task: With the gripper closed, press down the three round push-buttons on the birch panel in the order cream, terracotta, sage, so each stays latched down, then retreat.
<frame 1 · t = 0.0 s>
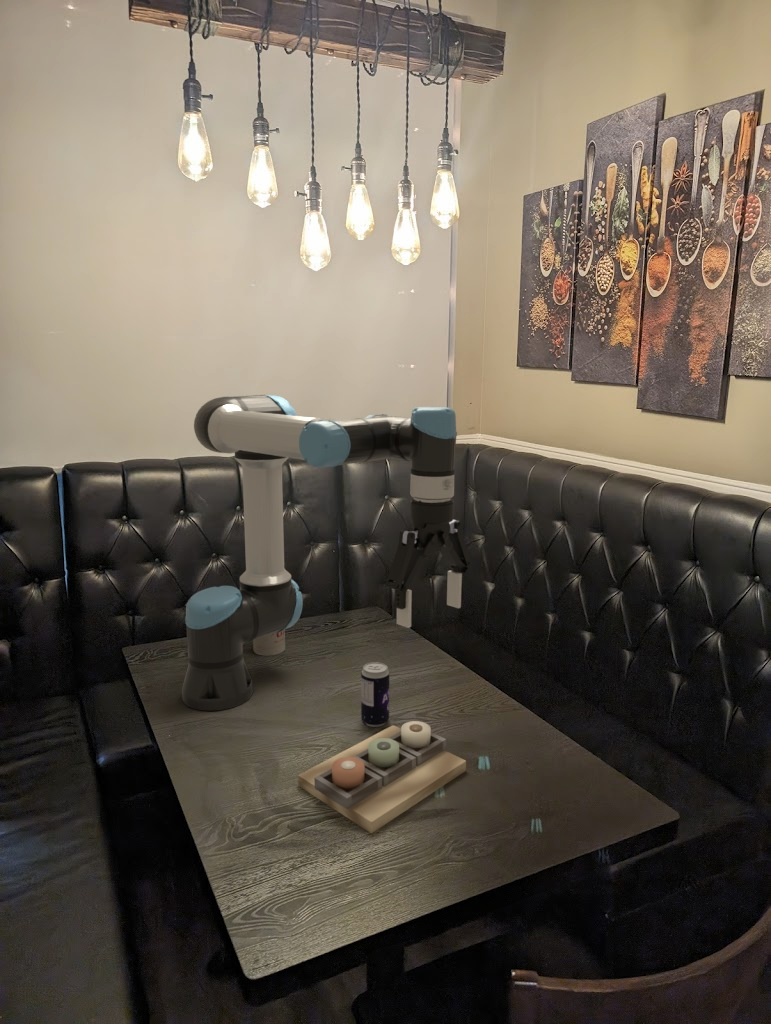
hand: (429, 615, 124), 28 cm above the table, fingers open, 13 cm apart
sage button: (383, 751, 123), point 5 cm above the table, slide at 1.5 cm
panel: (383, 778, 124), on the table
terracotta button: (348, 771, 117), point 5 cm above the table, slide at 1.5 cm
cream button: (415, 733, 129), point 5 cm above the table, slide at 1.5 cm
beverage can: (375, 722, 143), on the table
thermos bottle: (269, 650, 179), on the table
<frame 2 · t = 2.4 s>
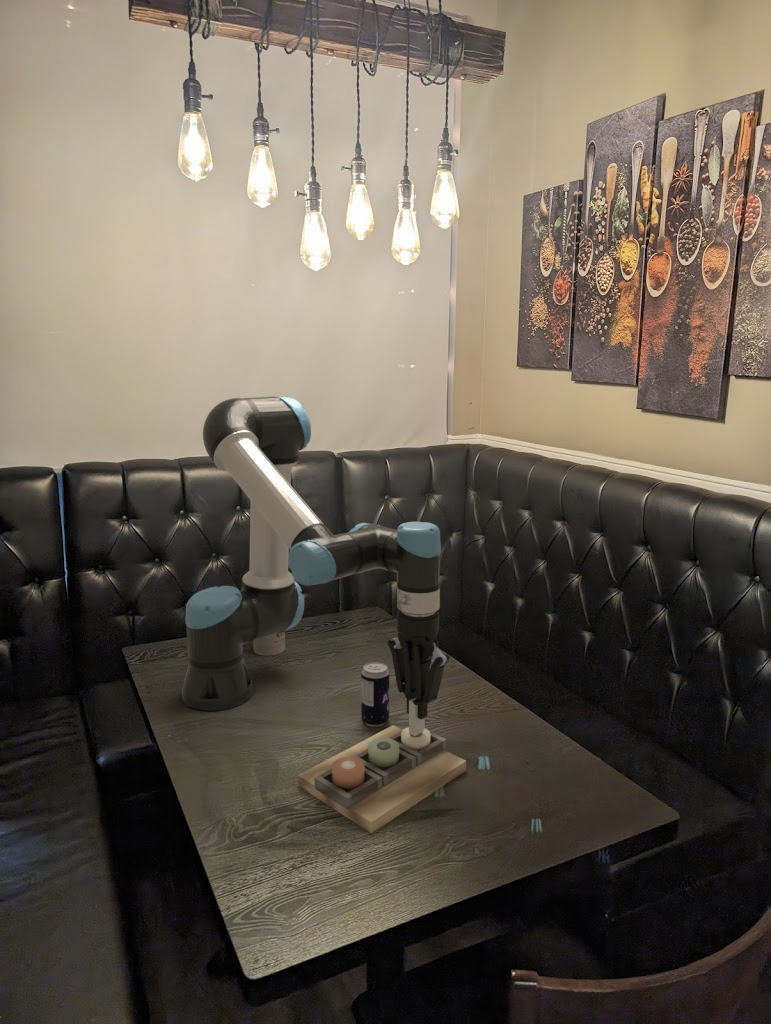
hand: (416, 731, 129), 6 cm above the table, fingers closed
cream button: (415, 739, 129), point 4 cm above the table, slide at 0.4 cm, touching gripper
everything else where it was.
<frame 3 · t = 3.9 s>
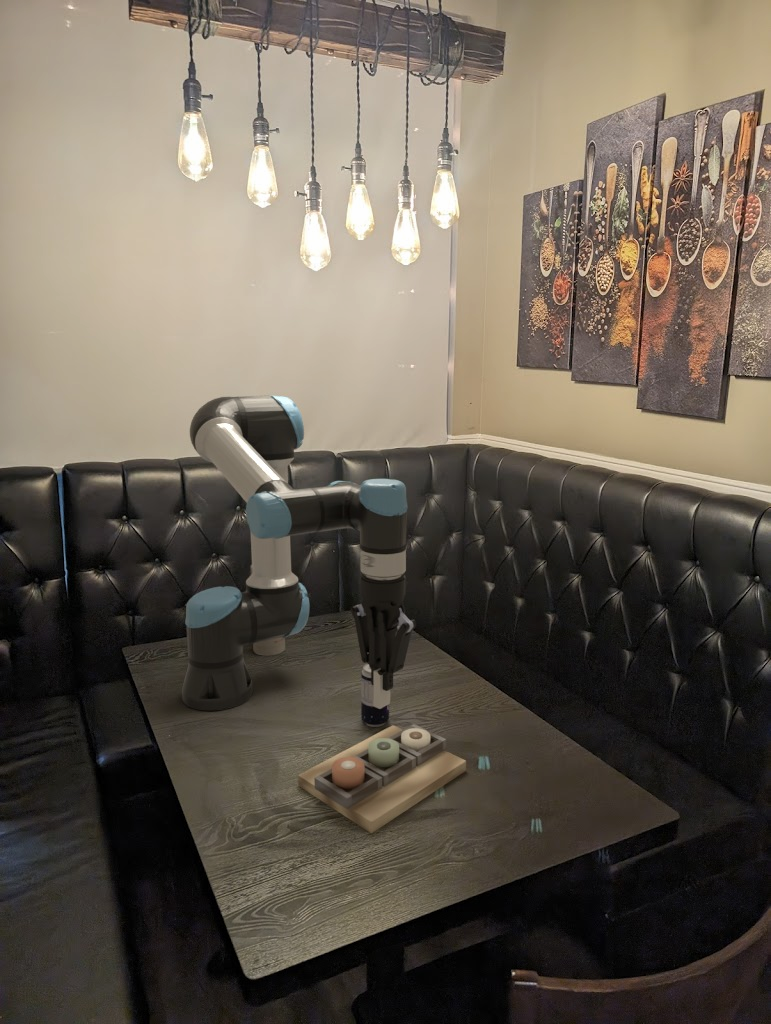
hand: (381, 704, 120), 14 cm above the table, fingers closed
cream button: (415, 741, 129), point 4 cm above the table, slide at 0.0 cm
everything else where it was.
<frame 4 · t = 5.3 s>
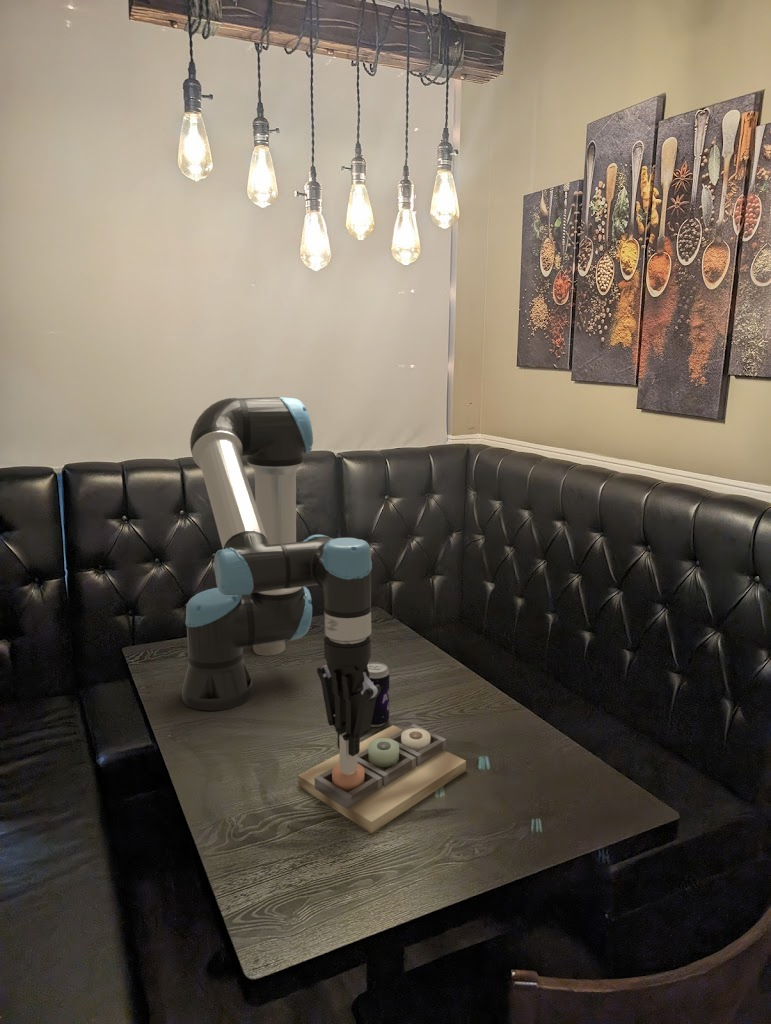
hand: (348, 769, 116), 6 cm above the table, fingers closed
terracotta button: (348, 776, 117), point 4 cm above the table, slide at 0.5 cm, touching gripper
everything else where it was.
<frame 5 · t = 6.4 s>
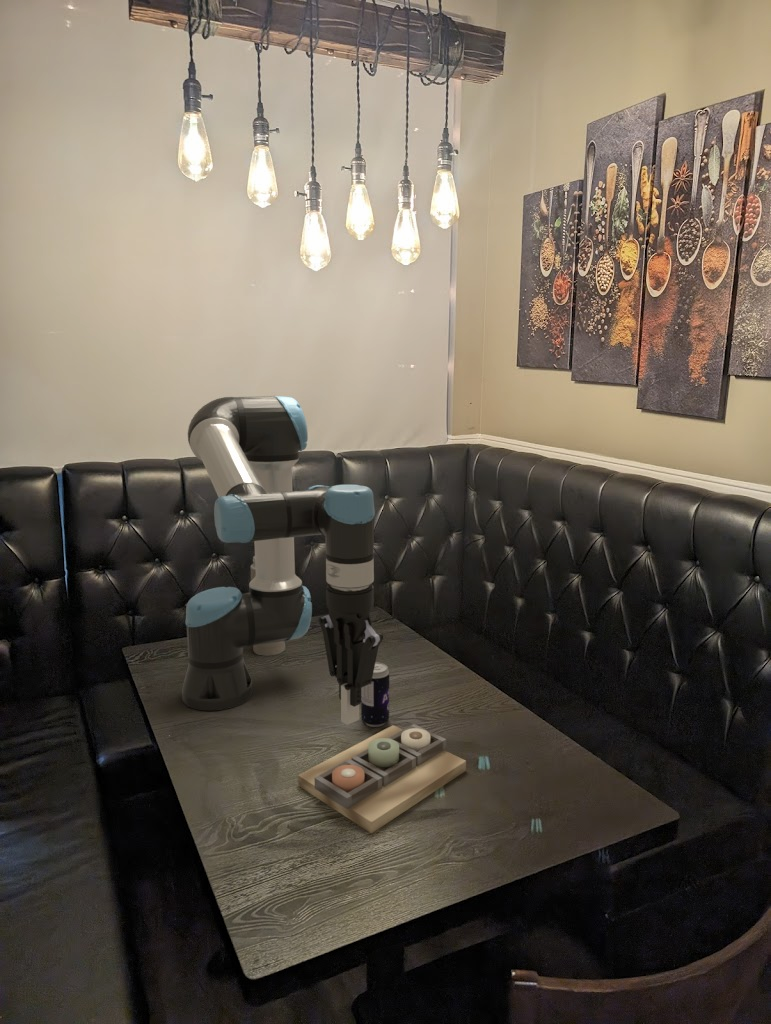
hand: (350, 720, 115), 14 cm above the table, fingers closed
terracotta button: (348, 779, 117), point 4 cm above the table, slide at 0.0 cm
everything else where it was.
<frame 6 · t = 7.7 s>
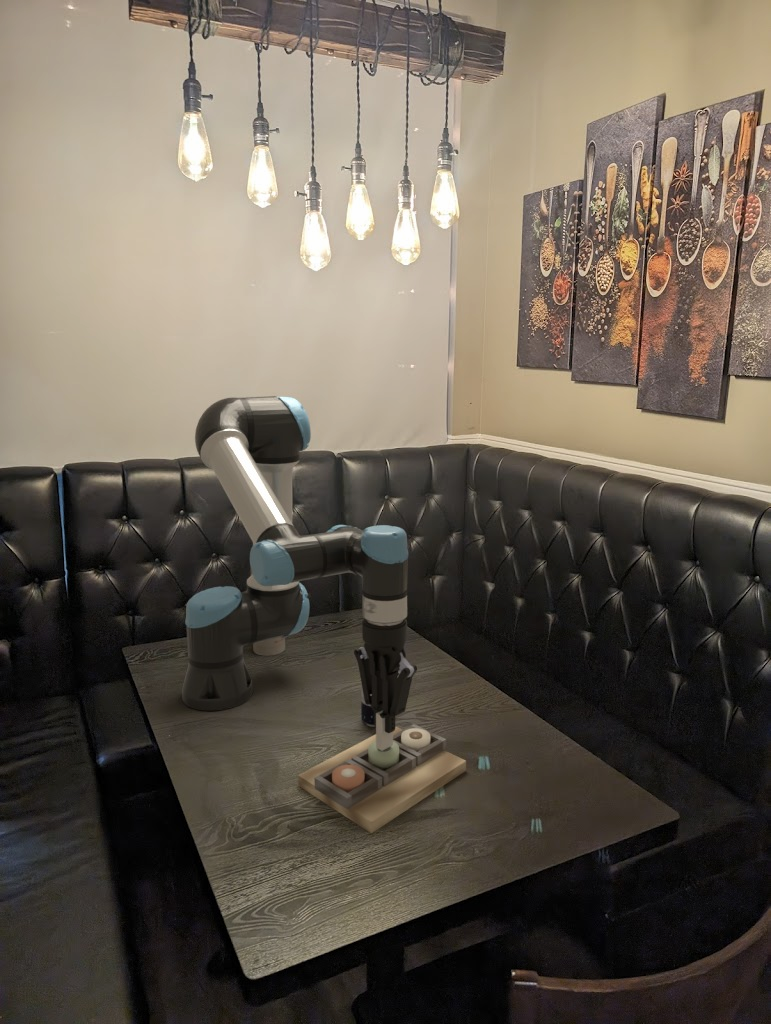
hand: (384, 746, 122), 6 cm above the table, fingers closed
sage button: (383, 753, 123), point 5 cm above the table, slide at 1.2 cm, touching gripper
everything else where it was.
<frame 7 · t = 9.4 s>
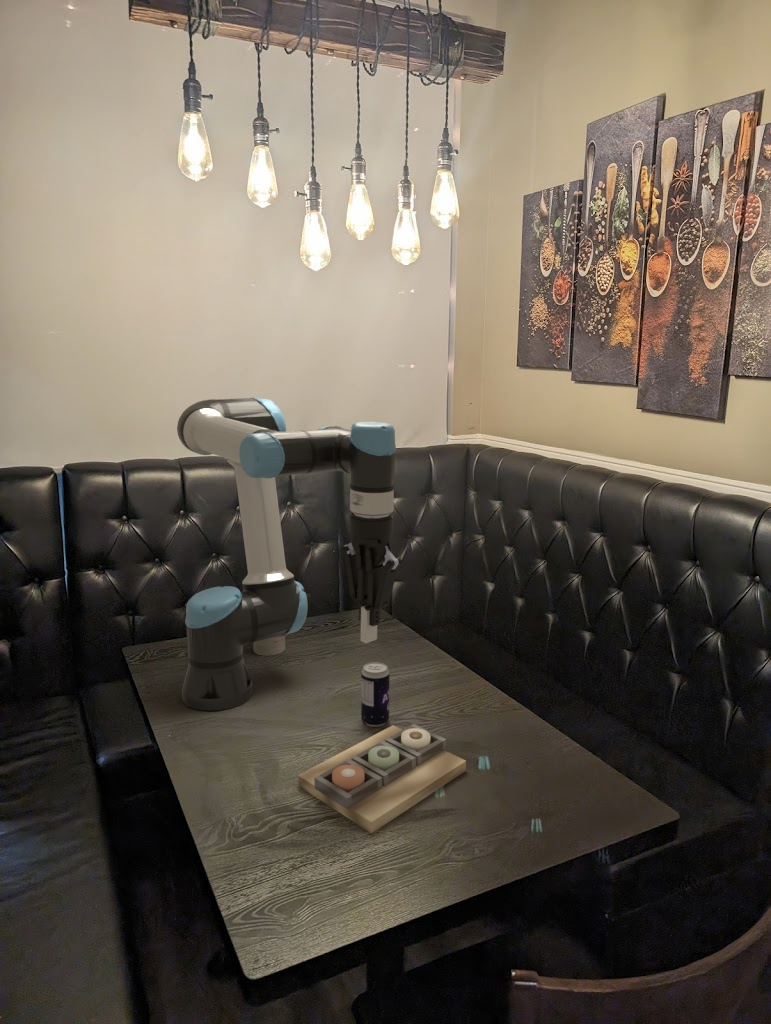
hand: (368, 640, 126), 23 cm above the table, fingers closed
sage button: (383, 759, 123), point 4 cm above the table, slide at 0.0 cm
everything else where it was.
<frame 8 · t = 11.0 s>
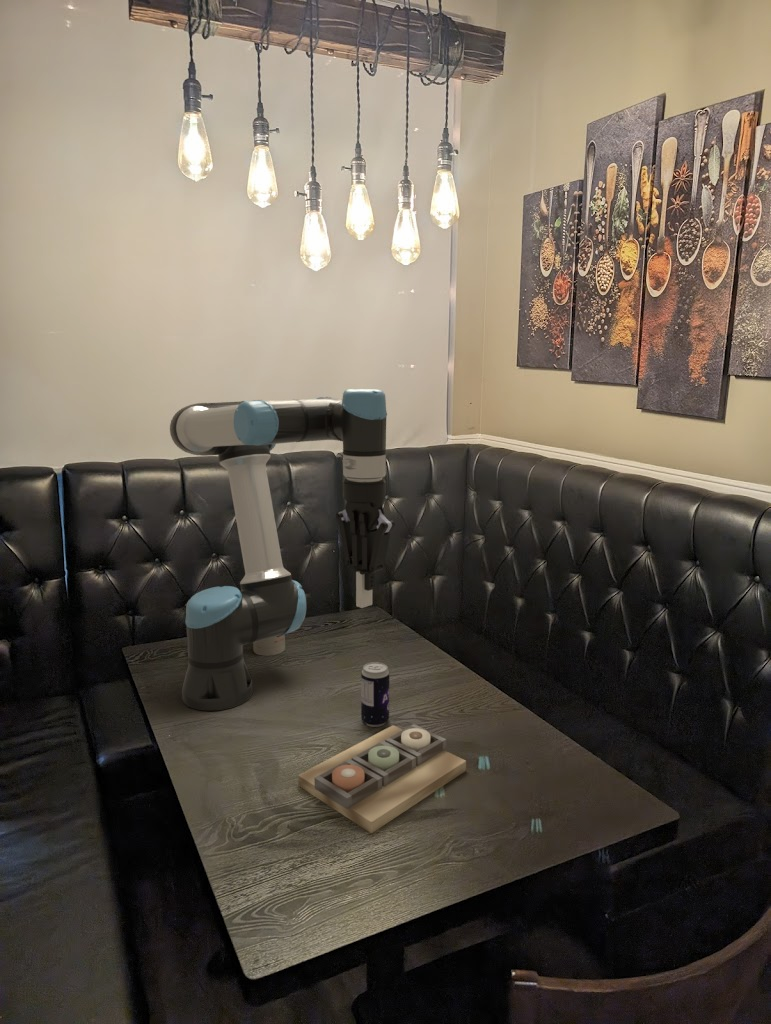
hand: (364, 605, 128), 28 cm above the table, fingers closed
nothing on the table moved.
at the end: cream button slide at 0.0 cm; terracotta button slide at 0.0 cm; sage button slide at 0.0 cm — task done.
